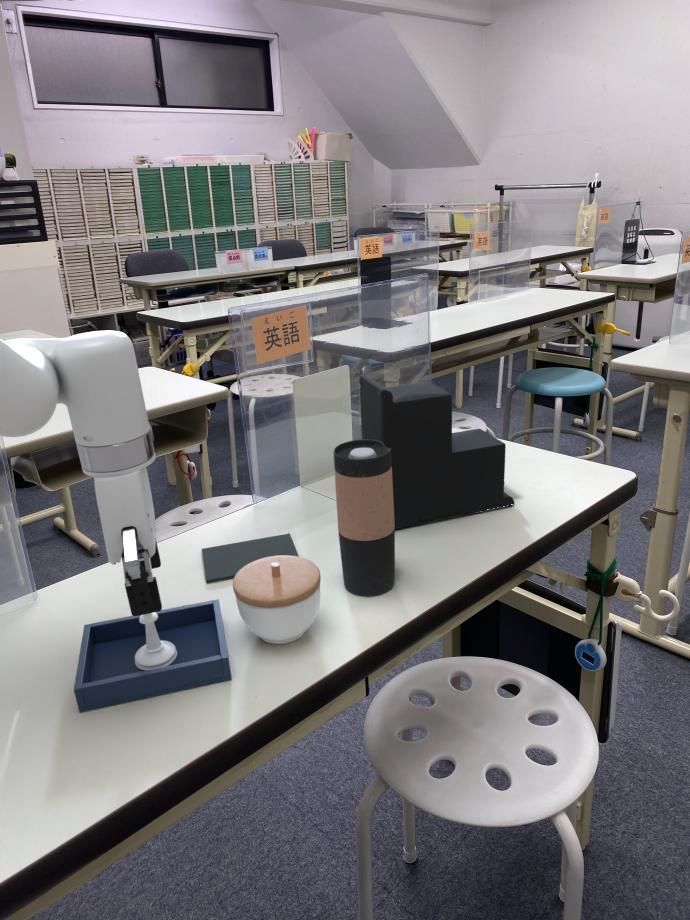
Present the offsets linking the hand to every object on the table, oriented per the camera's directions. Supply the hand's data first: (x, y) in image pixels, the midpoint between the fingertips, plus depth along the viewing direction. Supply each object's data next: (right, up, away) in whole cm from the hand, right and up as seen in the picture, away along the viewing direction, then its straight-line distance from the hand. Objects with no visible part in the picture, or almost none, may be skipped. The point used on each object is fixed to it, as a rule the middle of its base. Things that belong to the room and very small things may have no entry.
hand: (147, 589), depth 79 cm
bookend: (+39, +7, +38) cm, 55 cm away
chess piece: (0, -9, +3) cm, 10 cm away
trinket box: (+15, -7, +8) cm, 18 cm away
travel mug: (+26, -3, +17) cm, 31 cm away
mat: (+8, 0, +26) cm, 27 cm away
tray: (0, -9, +3) cm, 10 cm away
